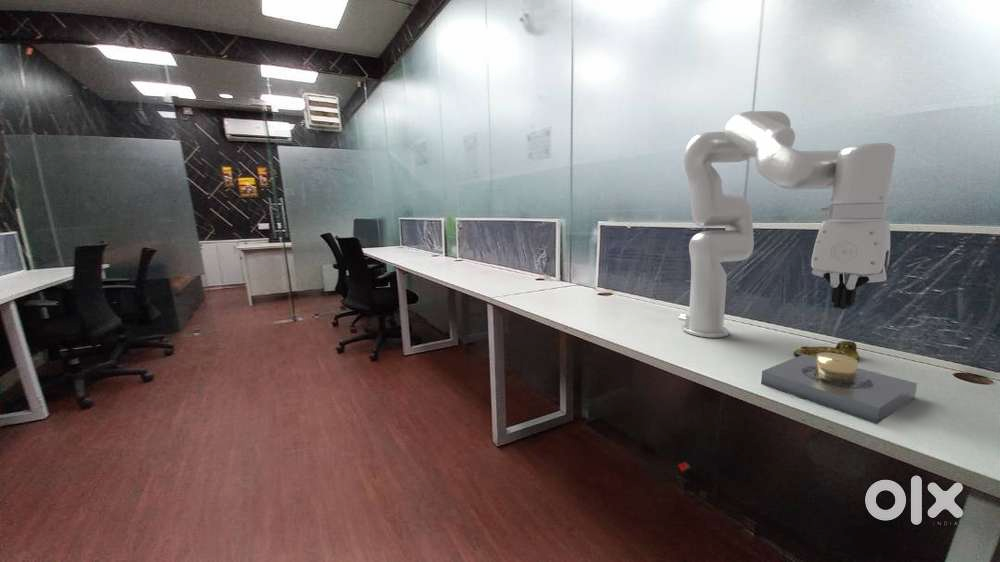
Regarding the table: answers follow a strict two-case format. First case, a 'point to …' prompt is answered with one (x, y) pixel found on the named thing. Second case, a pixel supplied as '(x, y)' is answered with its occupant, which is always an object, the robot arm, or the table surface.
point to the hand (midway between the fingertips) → (841, 307)
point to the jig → (841, 389)
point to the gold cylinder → (836, 367)
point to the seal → (830, 350)
